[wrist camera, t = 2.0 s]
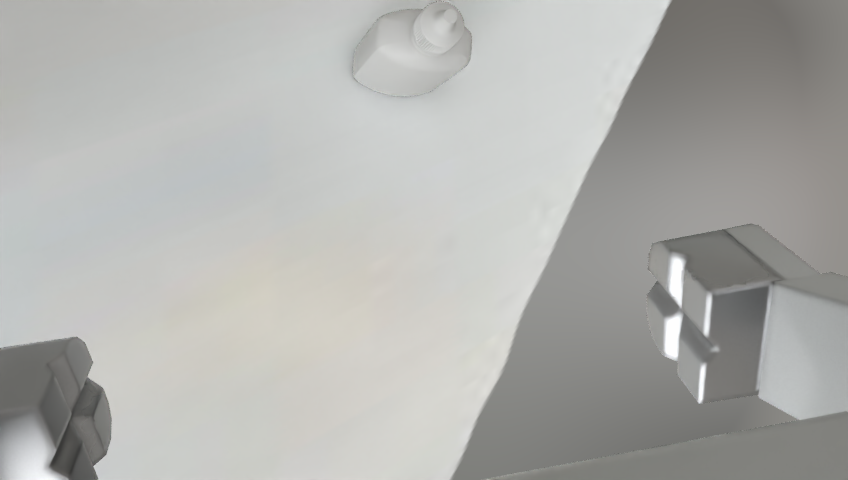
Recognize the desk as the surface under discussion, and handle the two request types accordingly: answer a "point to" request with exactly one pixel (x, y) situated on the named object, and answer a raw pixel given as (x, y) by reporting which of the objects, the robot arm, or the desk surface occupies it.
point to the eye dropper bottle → (413, 50)
